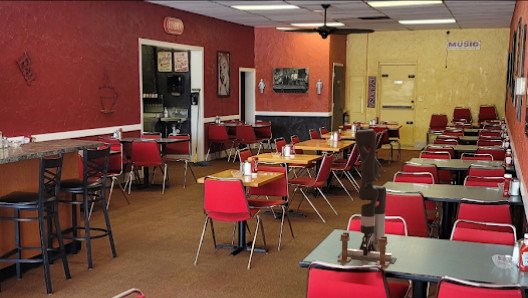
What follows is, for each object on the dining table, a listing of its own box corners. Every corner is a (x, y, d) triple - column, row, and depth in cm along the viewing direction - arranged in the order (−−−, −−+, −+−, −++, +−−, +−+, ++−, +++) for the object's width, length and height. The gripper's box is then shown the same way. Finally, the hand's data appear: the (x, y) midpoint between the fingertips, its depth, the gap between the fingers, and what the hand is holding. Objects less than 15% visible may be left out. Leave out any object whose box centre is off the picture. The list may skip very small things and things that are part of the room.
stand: (340, 258, 306) (340, 231, 304) (389, 264, 296) (390, 236, 294) (337, 261, 300) (337, 234, 298) (387, 267, 290) (387, 239, 289)
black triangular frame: (358, 251, 319) (359, 230, 318) (359, 248, 325) (360, 227, 324) (375, 252, 317) (375, 231, 316) (375, 249, 323) (376, 228, 322)
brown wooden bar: (344, 253, 313) (344, 248, 312) (391, 258, 303) (392, 253, 303) (342, 254, 310) (342, 249, 310) (390, 260, 300) (391, 254, 300)
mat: (341, 252, 316) (341, 251, 316) (396, 259, 305) (396, 257, 305) (337, 257, 308) (337, 256, 308) (393, 263, 296) (393, 262, 296)
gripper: (363, 220, 312) (363, 249, 314) (357, 226, 299) (357, 256, 301) (377, 221, 309) (376, 250, 311) (371, 227, 296) (371, 257, 298)
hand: (367, 253), depth 306 cm, fingers open, 8 cm apart
